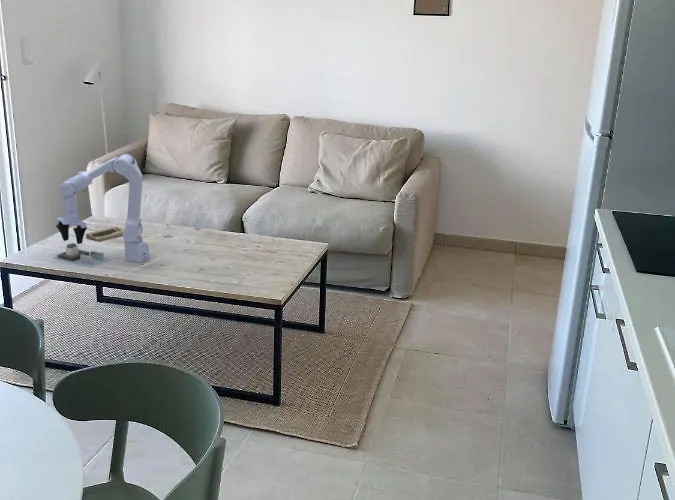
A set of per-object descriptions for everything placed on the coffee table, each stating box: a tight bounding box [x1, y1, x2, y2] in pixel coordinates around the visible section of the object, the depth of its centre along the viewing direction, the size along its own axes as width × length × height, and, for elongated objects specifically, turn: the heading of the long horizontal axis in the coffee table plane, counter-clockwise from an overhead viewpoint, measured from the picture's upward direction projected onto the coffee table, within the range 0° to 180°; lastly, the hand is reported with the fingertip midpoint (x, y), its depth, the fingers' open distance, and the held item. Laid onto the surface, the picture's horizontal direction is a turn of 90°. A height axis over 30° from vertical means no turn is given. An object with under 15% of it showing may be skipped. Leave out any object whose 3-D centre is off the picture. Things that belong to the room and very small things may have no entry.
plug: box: [65, 242, 79, 256], centre depth 298 cm, size 3×4×6 cm
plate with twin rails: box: [80, 250, 105, 265], centre depth 295 cm, size 6×7×3 cm
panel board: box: [53, 253, 113, 269], centre depth 297 cm, size 21×12×1 cm, turn 64°
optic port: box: [57, 248, 90, 261], centre depth 299 cm, size 8×9×2 cm
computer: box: [85, 226, 124, 243], centre depth 328 cm, size 16×8×3 cm, turn 141°
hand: (72, 241), depth 297 cm, fingers open, 7 cm apart
